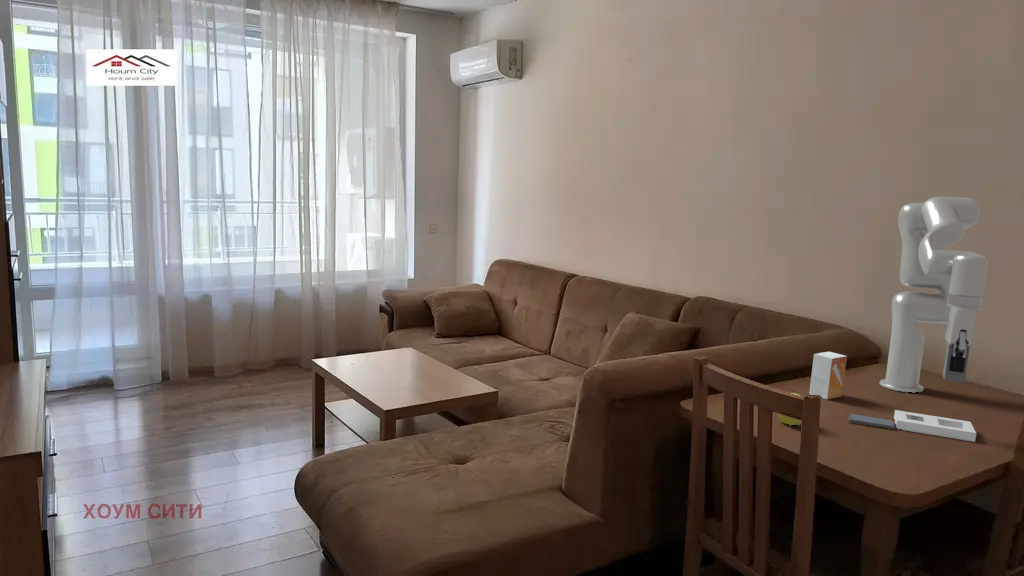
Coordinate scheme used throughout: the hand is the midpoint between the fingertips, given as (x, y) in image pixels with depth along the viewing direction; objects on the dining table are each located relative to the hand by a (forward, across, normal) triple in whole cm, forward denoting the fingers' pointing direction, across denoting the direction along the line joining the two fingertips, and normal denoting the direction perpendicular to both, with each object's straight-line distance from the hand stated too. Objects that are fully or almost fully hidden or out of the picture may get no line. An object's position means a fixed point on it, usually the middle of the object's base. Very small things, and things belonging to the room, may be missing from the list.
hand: (955, 368), depth 185 cm
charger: (+3, 0, 0) cm, 3 cm away
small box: (+18, -18, -30) cm, 39 cm away
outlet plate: (+17, 0, -3) cm, 18 cm away
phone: (+17, +4, -18) cm, 25 cm away
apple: (+18, +17, -38) cm, 45 cm away
